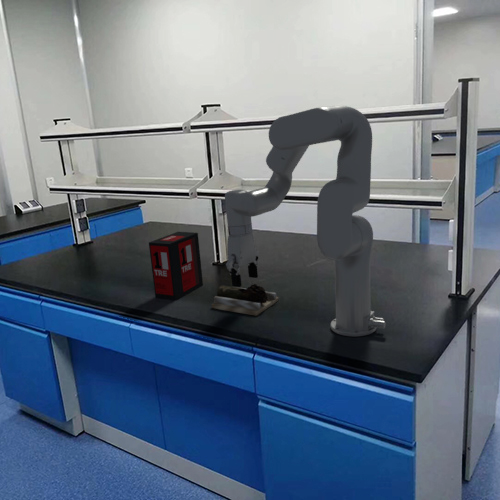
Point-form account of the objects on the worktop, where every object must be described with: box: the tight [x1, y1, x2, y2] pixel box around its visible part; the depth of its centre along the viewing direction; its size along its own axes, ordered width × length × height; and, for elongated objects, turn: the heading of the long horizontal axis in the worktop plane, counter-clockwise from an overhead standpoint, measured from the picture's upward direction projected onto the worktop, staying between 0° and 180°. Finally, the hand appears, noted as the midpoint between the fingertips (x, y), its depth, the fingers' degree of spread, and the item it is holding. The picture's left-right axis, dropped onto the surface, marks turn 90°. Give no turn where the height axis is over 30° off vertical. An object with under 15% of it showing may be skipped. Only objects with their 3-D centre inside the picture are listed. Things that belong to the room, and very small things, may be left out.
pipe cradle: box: [211, 287, 280, 317], centre depth 165 cm, size 17×14×3 cm
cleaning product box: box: [148, 231, 204, 301], centre depth 180 cm, size 16×9×20 cm, turn 151°
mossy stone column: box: [216, 283, 267, 303], centre depth 164 cm, size 18×7×6 cm, turn 56°
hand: (245, 281), depth 163 cm, fingers open, 9 cm apart
